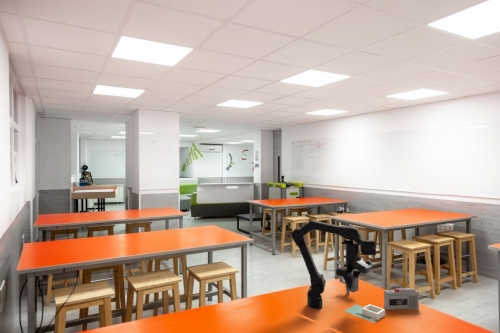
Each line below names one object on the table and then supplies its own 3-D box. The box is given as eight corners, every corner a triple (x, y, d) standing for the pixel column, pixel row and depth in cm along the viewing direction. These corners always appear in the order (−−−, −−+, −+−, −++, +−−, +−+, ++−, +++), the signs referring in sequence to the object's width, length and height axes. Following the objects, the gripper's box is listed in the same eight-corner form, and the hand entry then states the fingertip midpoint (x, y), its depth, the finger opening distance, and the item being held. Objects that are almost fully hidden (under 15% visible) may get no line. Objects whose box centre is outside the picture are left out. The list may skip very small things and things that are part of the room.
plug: (345, 289, 150) (345, 276, 150) (349, 287, 152) (349, 275, 152) (353, 292, 146) (353, 279, 146) (358, 290, 149) (358, 277, 149)
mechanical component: (340, 292, 174) (340, 273, 174) (358, 297, 166) (358, 278, 166) (337, 293, 172) (337, 274, 172) (355, 299, 164) (355, 279, 164)
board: (343, 312, 149) (343, 310, 149) (355, 306, 156) (355, 303, 156) (374, 324, 138) (374, 322, 138) (386, 316, 145) (386, 314, 145)
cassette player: (386, 311, 151) (386, 290, 151) (384, 309, 153) (384, 288, 153) (418, 310, 152) (418, 289, 152) (415, 308, 154) (415, 287, 154)
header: (361, 314, 146) (361, 308, 146) (369, 309, 151) (369, 304, 151) (377, 319, 140) (377, 314, 140) (385, 315, 145) (385, 309, 145)
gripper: (357, 261, 137) (357, 298, 137) (378, 253, 149) (378, 287, 149) (335, 256, 145) (335, 290, 145) (356, 249, 158) (356, 280, 158)
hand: (352, 287), depth 149 cm, fingers closed on plug, 4 cm apart
